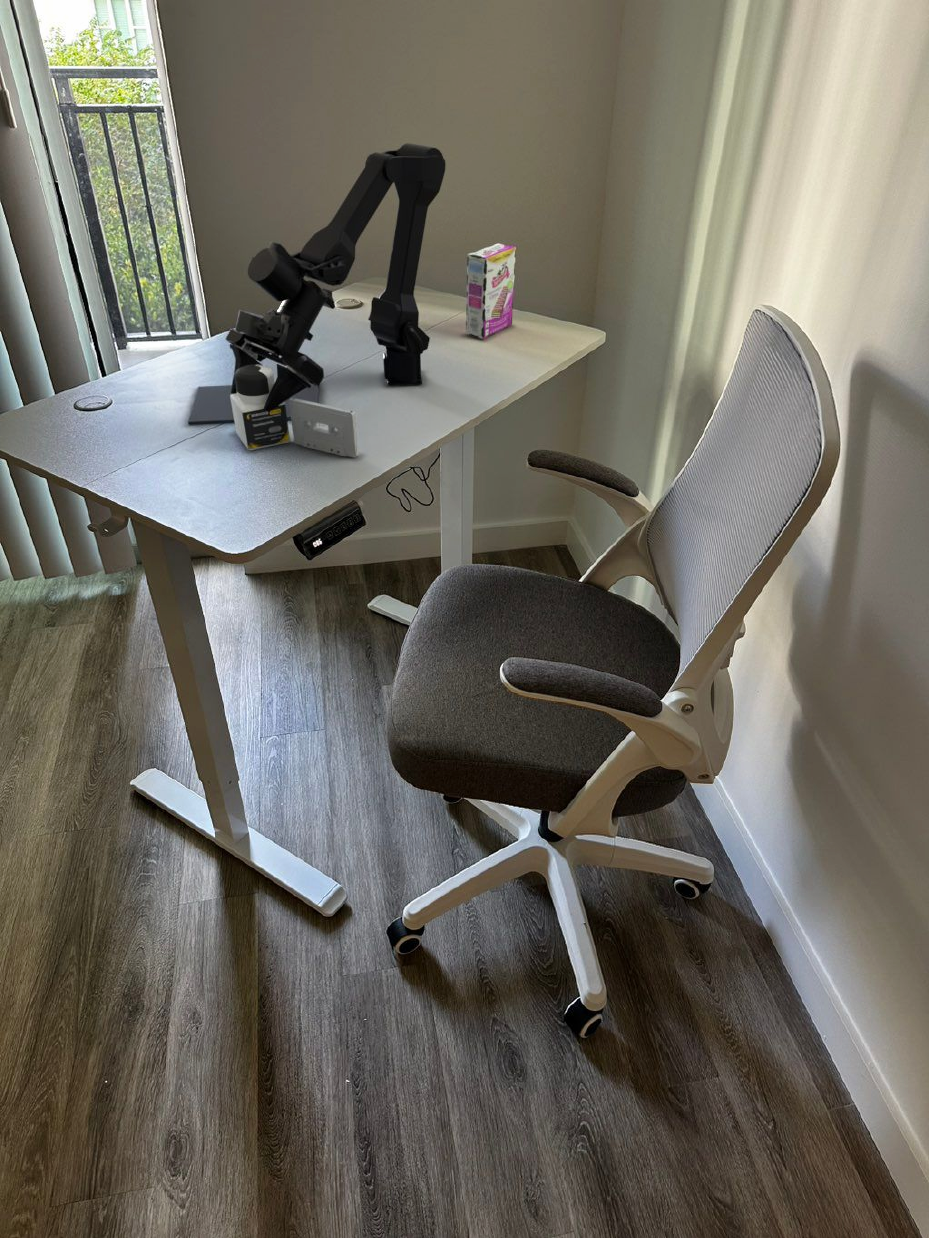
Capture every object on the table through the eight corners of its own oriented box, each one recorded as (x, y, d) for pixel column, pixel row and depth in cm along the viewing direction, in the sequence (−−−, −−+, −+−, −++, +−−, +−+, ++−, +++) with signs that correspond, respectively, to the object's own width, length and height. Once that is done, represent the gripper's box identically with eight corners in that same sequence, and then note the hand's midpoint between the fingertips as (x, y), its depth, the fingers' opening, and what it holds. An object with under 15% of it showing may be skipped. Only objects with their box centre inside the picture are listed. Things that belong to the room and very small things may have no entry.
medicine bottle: (248, 451, 139) (237, 381, 131) (236, 434, 144) (224, 365, 136) (290, 442, 141) (281, 373, 134) (277, 425, 146) (267, 357, 139)
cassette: (360, 454, 138) (357, 410, 133) (354, 459, 137) (350, 414, 132) (298, 439, 142) (293, 396, 137) (292, 444, 141) (286, 400, 136)
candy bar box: (484, 340, 178) (486, 258, 168) (465, 335, 181) (465, 254, 170) (514, 325, 185) (517, 245, 175) (494, 321, 188) (496, 241, 178)
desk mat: (319, 384, 160) (318, 381, 160) (318, 418, 149) (317, 415, 148) (199, 389, 158) (198, 386, 158) (188, 425, 146) (187, 421, 146)
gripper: (225, 275, 135) (178, 362, 136) (301, 302, 126) (250, 396, 126) (272, 314, 145) (228, 395, 145) (345, 341, 135) (298, 428, 135)
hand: (249, 402), depth 138 cm, fingers closed on medicine bottle, 8 cm apart
